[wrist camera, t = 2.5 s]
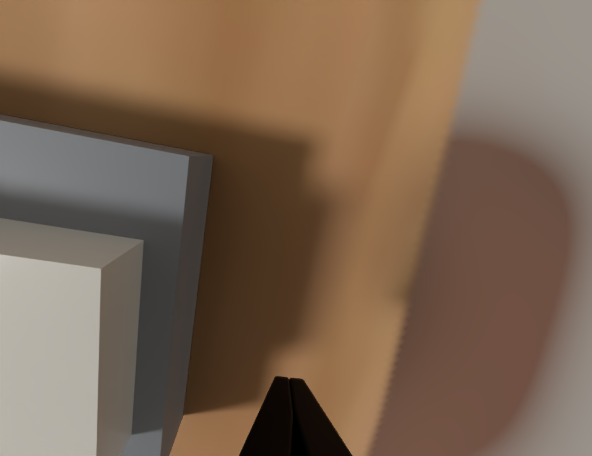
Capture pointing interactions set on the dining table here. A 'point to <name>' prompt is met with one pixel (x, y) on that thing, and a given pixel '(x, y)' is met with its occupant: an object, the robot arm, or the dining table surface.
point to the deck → (131, 224)
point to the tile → (67, 340)
